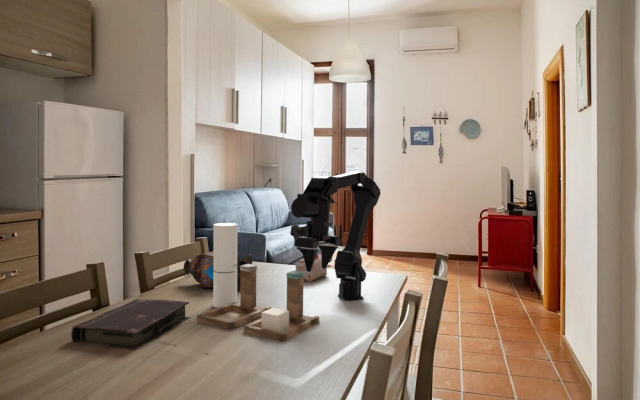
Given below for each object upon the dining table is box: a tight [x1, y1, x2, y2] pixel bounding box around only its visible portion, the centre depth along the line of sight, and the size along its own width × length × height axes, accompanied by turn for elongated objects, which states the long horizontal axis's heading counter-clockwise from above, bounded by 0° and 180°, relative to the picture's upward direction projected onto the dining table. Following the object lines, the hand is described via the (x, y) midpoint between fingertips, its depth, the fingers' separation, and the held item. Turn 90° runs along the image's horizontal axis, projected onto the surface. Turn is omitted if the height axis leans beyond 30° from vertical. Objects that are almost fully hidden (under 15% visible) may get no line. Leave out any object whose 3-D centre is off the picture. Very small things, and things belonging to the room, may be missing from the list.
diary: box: [70, 298, 191, 350], centre depth 125 cm, size 19×25×5 cm
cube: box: [260, 307, 289, 333], centre depth 122 cm, size 5×5×5 cm
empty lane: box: [196, 263, 272, 330], centre depth 133 cm, size 17×12×14 cm
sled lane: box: [243, 270, 320, 343], centre depth 125 cm, size 17×12×14 cm
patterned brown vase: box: [183, 250, 253, 292], centre depth 171 cm, size 16×16×25 cm
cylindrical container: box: [212, 222, 238, 309], centre depth 147 cm, size 7×7×25 cm
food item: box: [294, 254, 328, 283], centre depth 185 cm, size 14×8×10 cm, turn 152°
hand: (316, 270), depth 144 cm, fingers open, 9 cm apart
